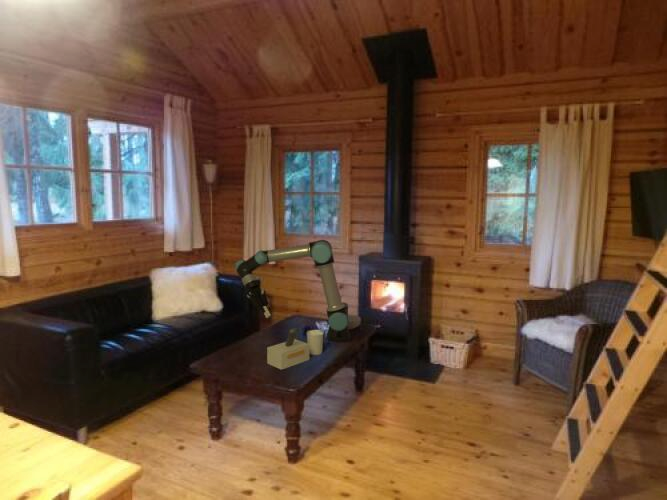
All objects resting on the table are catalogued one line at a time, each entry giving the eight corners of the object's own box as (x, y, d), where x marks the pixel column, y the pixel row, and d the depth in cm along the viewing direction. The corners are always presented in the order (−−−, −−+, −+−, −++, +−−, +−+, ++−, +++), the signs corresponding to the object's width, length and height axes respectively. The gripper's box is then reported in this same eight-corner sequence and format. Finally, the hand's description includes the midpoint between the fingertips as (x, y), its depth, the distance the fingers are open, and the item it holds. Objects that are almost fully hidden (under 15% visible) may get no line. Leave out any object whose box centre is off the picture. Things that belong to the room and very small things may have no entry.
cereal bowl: (364, 326, 317) (365, 316, 316) (353, 333, 303) (353, 322, 302) (343, 322, 326) (343, 313, 325) (331, 328, 312) (331, 318, 311)
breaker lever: (290, 342, 255) (296, 326, 250) (293, 345, 253) (299, 329, 249) (283, 344, 251) (289, 328, 246) (286, 347, 250) (292, 331, 245)
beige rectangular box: (295, 354, 265) (295, 338, 264) (309, 359, 257) (309, 344, 255) (267, 363, 251) (267, 347, 250) (281, 369, 242) (281, 353, 241)
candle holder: (317, 356, 261) (317, 336, 260) (303, 353, 266) (303, 333, 265) (326, 351, 270) (326, 331, 268) (312, 348, 275) (312, 328, 273)
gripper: (256, 285, 278) (274, 317, 269) (238, 288, 269) (256, 322, 260) (262, 278, 274) (280, 310, 265) (243, 281, 264) (262, 315, 255)
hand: (268, 316), depth 262 cm, fingers closed
